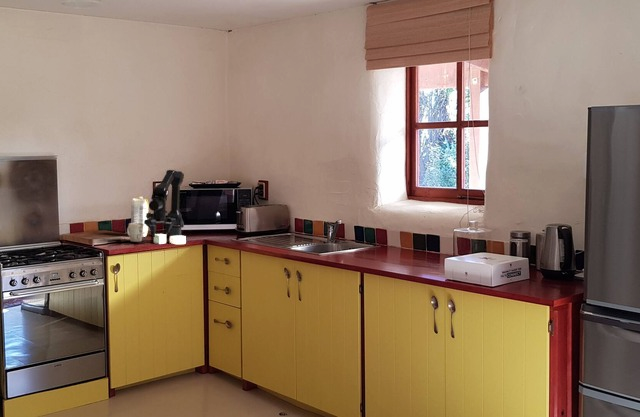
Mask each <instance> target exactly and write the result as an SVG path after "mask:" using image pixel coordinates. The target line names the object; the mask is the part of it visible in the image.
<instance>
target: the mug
mask: <svg viewBox="0 0 640 417" xmlns="http://www.w3.org/2000/svg"><path fill="white" fill-rule="evenodd" d="M143 226H144V224H143V223H131V222H129V223H128V227H127V229H126V233H127V235H128V237H129V236H130V237H129V239H130V242H134V243H135V242H136V243H139V242H140V243H141V242H142V239H143V237H142V232H143Z"/></svg>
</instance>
